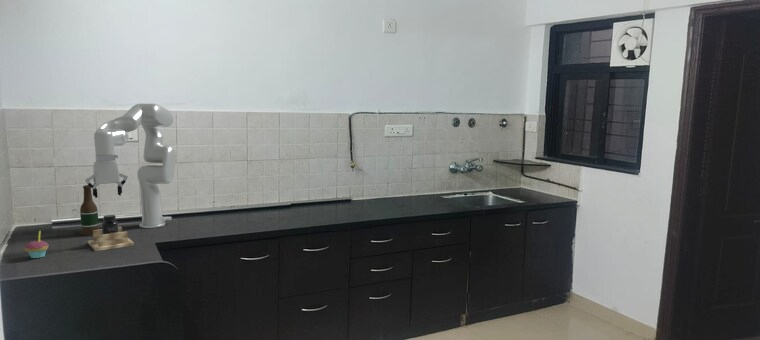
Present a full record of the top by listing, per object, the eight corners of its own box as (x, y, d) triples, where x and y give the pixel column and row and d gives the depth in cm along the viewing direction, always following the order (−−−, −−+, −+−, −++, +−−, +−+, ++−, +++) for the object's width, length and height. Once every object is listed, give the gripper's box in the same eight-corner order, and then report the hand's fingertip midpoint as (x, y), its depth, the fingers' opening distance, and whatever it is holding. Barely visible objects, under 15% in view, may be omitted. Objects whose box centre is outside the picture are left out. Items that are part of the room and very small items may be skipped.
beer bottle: (79, 236, 266) (76, 187, 263) (83, 232, 273) (80, 184, 270) (97, 235, 268) (94, 186, 265) (101, 231, 275) (97, 184, 272)
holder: (125, 238, 263) (125, 225, 262) (134, 245, 250) (133, 231, 249) (88, 243, 253) (87, 230, 252) (94, 251, 240) (93, 237, 240)
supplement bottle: (122, 239, 255) (120, 214, 253) (115, 243, 248) (113, 217, 246) (107, 239, 255) (105, 214, 253) (99, 243, 248) (98, 217, 247)
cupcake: (53, 254, 235) (51, 227, 234) (42, 260, 227) (39, 231, 225) (33, 254, 235) (30, 227, 234) (20, 260, 227) (18, 232, 225)
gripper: (124, 156, 254) (126, 193, 257) (82, 159, 244) (85, 197, 247) (128, 157, 249) (130, 195, 251) (85, 160, 238) (88, 199, 241)
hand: (107, 196), depth 249 cm, fingers open, 9 cm apart
